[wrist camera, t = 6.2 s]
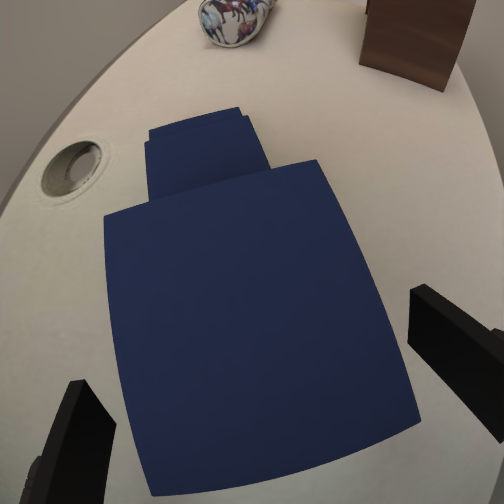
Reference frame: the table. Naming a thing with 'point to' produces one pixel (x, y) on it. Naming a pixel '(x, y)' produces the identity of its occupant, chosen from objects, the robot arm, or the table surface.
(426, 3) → the brown box
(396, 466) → the table surface
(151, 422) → the blue blocks on base
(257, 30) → the pencil case
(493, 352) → the robot arm
